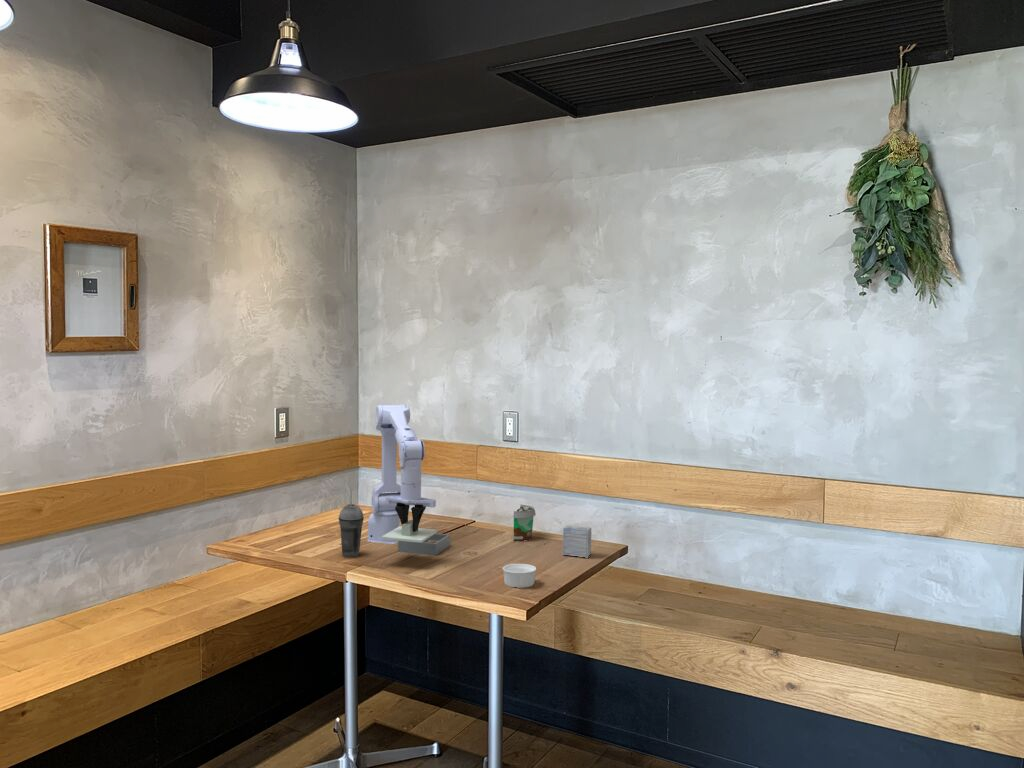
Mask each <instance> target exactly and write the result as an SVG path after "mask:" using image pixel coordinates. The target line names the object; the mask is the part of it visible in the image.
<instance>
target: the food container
mask: <svg viewBox="0 0 1024 768" xmlns="http://www.w3.org/2000/svg"><path fill="white" fill-rule="evenodd" d="M519 505H520V507H519V508H518V509H517V510H514V511H513V515H512V516H513V517H512V518H513V542H517V541H519V542H525V541H524V540H528V541H530V540H529V539H531V538H533V537H532V535H533V527H534V526H533V525H534V517H535V516H537V515H536V510H535V507H534V506H531V505H527V504H519ZM531 540H532V539H531Z"/></svg>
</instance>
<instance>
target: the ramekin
mask: <svg viewBox="0 0 1024 768" xmlns="http://www.w3.org/2000/svg"><path fill="white" fill-rule="evenodd" d="M502 572H503V580H504V581H503V582H504V584H505V585H506V586H508V587H510V588H514V587H517V589H526V588H530V587H532V586H534V584H535V582H536V581H535V580H536V572H537V567H536V566H535V565H532V564H529V563H527V564H526V563H509V564H506V565H504V566H503V567H502ZM525 587H526V588H525Z"/></svg>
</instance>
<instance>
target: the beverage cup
mask: <svg viewBox="0 0 1024 768" xmlns="http://www.w3.org/2000/svg"><path fill="white" fill-rule="evenodd" d="M352 498H353V497H352V488H350V489H349V504H347V505H345V506H343V508H342V509H340V512H339V515H338V523H339V528H340V540H341V554H342V557H343V558H347V559H348V558H358V556H360V549H361V538H362V527H363V524H364V519H365V518H364V513H363V510H362V509H361V507H360V506H358V505H356V504H353V503H352V501H353V500H352Z"/></svg>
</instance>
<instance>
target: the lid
mask: <svg viewBox="0 0 1024 768" xmlns="http://www.w3.org/2000/svg"><path fill="white" fill-rule="evenodd" d="M412 525H413V519H408V522H406V523H404V524H402V525H399V527H397V528H396V529H394V530H392V531H390V532H389V533H387V534H385V535H383V536H382V539H387V540H397V541H408V542H418V543H422V542H423V541H425V540H426V539H428V538H429V537H431V536H432V535H434V534H438V531H439V530H438V529H433V528H424V527H423V528H422V527H418V531H416V532H413V529H412Z"/></svg>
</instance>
